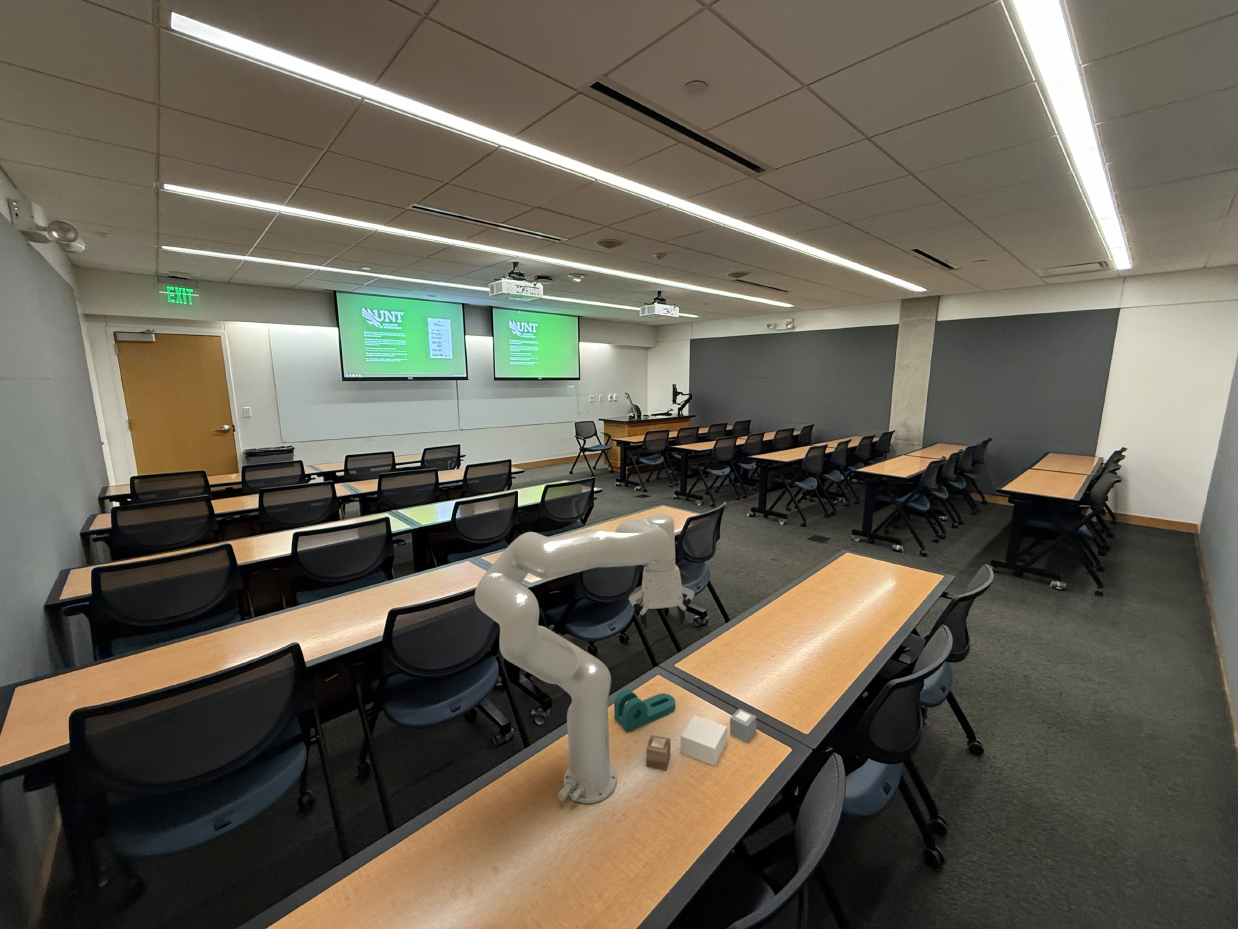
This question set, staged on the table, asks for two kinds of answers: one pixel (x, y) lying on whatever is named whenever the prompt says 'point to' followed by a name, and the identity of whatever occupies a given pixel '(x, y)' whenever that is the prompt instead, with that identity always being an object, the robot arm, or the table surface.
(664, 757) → the walnut block
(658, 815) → the table surface
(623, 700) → the bracket
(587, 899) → the table surface
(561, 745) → the table surface
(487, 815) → the table surface
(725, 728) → the plain block
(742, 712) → the slate block
